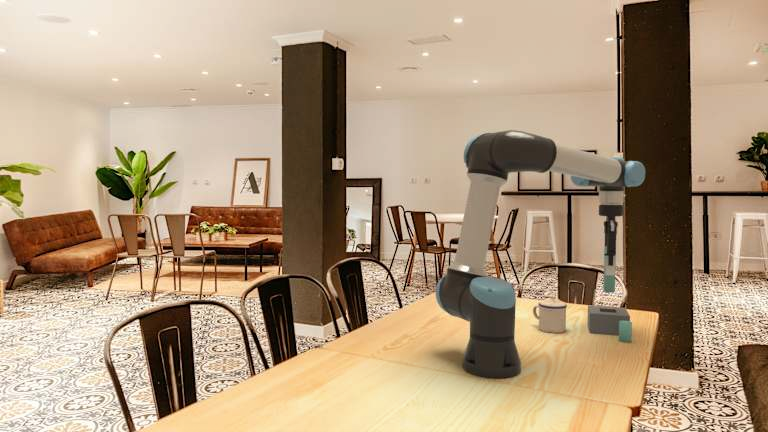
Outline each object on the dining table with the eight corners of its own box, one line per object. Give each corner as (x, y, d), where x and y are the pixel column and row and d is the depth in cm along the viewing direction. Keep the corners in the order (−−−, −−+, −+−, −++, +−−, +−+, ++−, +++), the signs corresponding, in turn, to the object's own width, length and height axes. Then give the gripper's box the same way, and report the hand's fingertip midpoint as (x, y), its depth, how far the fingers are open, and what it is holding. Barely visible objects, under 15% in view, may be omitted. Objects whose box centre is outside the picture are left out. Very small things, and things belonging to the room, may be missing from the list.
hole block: (629, 336, 170) (630, 316, 170) (589, 332, 174) (590, 313, 174) (624, 326, 182) (625, 307, 181) (587, 323, 185) (587, 305, 185)
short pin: (632, 343, 163) (632, 323, 163) (619, 341, 164) (620, 322, 164) (630, 339, 166) (631, 320, 166) (618, 338, 168) (618, 320, 167)
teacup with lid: (571, 330, 177) (572, 295, 177) (556, 335, 171) (557, 299, 171) (540, 322, 186) (541, 290, 186) (525, 327, 181) (525, 293, 180)
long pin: (615, 292, 175) (616, 247, 174) (603, 292, 176) (604, 247, 175) (614, 290, 178) (615, 246, 177) (602, 290, 179) (603, 246, 178)
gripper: (626, 205, 166) (624, 279, 168) (620, 203, 182) (618, 270, 184) (601, 205, 169) (599, 277, 170) (597, 203, 184) (595, 269, 186)
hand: (609, 273), depth 177 cm, fingers closed on long pin, 3 cm apart
